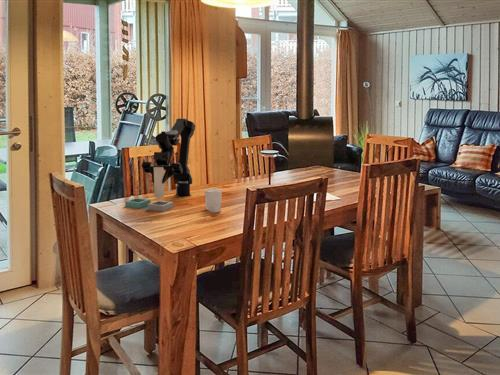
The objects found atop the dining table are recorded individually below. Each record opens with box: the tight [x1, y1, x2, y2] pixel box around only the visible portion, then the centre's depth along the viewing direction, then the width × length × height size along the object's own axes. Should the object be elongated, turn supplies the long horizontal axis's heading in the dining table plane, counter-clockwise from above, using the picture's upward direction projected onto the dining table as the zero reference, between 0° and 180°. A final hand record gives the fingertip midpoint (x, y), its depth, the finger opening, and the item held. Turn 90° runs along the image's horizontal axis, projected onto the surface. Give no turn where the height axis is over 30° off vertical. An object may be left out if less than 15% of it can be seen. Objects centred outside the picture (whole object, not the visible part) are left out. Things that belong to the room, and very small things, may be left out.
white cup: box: [204, 187, 223, 214], centre depth 241 cm, size 8×8×10 cm
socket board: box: [123, 197, 175, 213], centre depth 245 cm, size 22×11×4 cm, turn 66°
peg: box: [153, 167, 165, 199], centre depth 240 cm, size 4×4×14 cm
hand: (157, 182), depth 239 cm, fingers closed on peg, 4 cm apart
